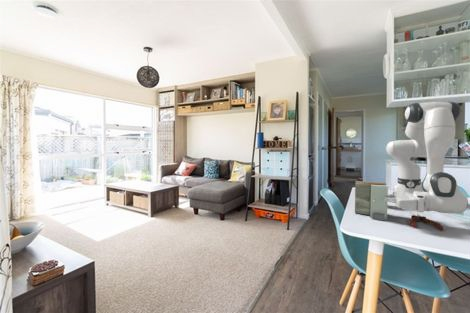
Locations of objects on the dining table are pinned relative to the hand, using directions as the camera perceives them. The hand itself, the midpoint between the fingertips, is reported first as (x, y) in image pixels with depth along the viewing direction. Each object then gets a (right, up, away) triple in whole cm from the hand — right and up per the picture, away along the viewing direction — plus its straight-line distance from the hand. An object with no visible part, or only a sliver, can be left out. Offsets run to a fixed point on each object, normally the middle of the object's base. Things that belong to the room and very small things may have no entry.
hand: (383, 197), depth 111 cm
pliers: (+16, -12, -6) cm, 20 cm away
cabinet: (-2, -10, +8) cm, 14 cm away
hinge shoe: (-2, -11, +2) cm, 11 cm away
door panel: (-1, -11, +2) cm, 11 cm away
